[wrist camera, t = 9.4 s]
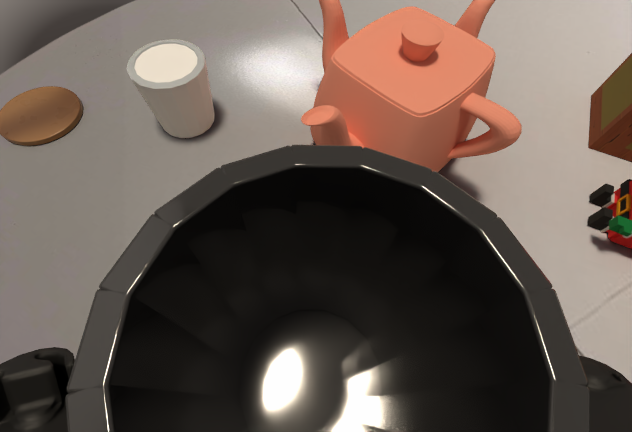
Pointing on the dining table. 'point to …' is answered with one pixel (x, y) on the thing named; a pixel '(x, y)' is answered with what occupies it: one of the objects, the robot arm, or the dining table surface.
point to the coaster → (40, 116)
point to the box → (613, 114)
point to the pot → (409, 87)
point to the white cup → (174, 86)
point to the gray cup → (326, 310)
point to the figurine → (614, 212)
